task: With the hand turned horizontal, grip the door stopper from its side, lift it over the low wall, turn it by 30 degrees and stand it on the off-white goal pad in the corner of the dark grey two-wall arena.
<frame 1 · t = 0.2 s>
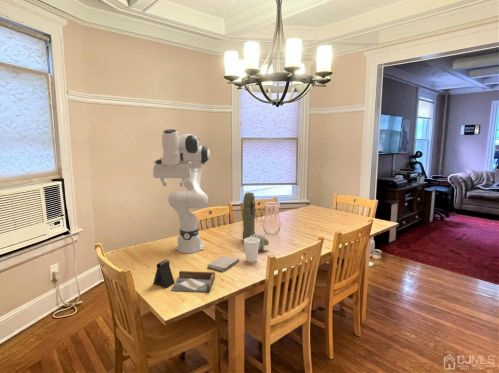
hand: (173, 186, 171), 48 cm above the table, tool pointing down, fingers open, 8 cm apart
foam cup: (251, 260, 193), on the table
door stopper: (163, 284, 162), on the table
arena: (193, 284, 162), on the table
toy sheep: (256, 250, 210), on the table
washcloth: (223, 265, 186), on the table
green cactus: (248, 241, 227), on the table
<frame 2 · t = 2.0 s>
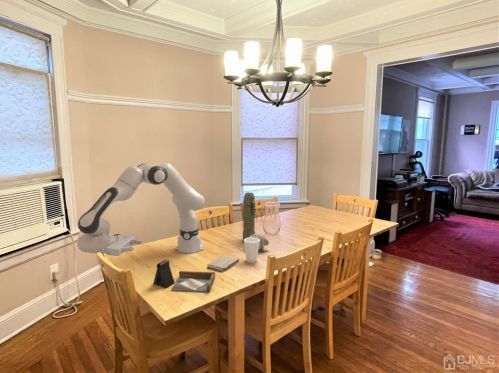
hand: (137, 245, 160), 20 cm above the table, tool horizontal, fingers open, 8 cm apart
nothing on the table moved.
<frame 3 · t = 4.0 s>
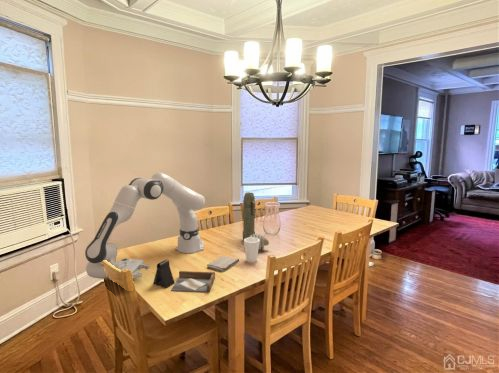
hand: (145, 271, 162), 6 cm above the table, tool horizontal, fingers open, 8 cm apart
nothing on the table moved.
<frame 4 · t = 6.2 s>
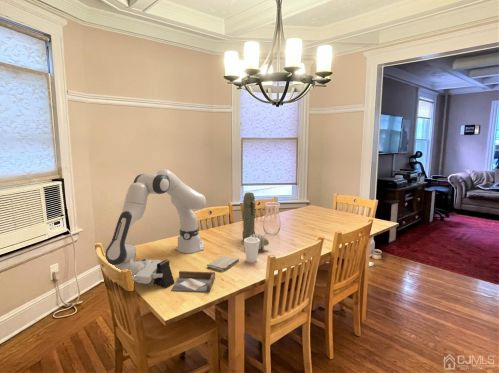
hand: (165, 271, 161), 7 cm above the table, tool horizontal, fingers closed on door stopper, 6 cm apart
door stopper: (163, 284, 162), on the table, touching gripper
everything else where it was.
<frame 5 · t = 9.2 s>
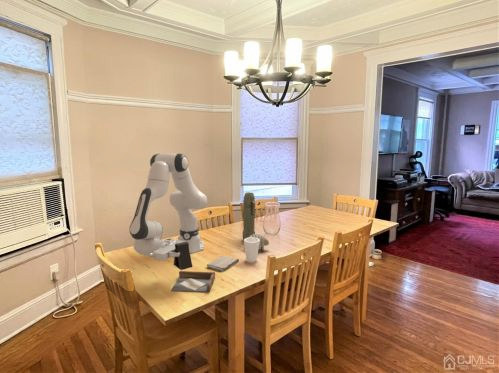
hand: (183, 252, 156), 18 cm above the table, tool horizontal, fingers closed on door stopper, 6 cm apart
door stopper: (182, 266, 157), point 11 cm above the table, touching gripper
everything else where it was.
when the fingers open (9 cm above the table, at t = 12.1 s): door stopper stays where it is, resting on arena.
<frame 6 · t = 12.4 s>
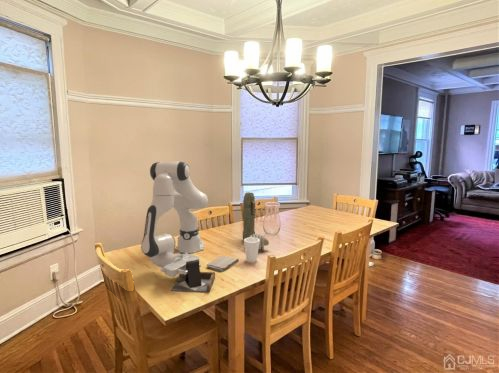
hand: (193, 269, 159), 9 cm above the table, tool horizontal, fingers open, 8 cm apart
door stopper: (193, 283, 161), point 1 cm above the table, touching arena
everything else where it was.
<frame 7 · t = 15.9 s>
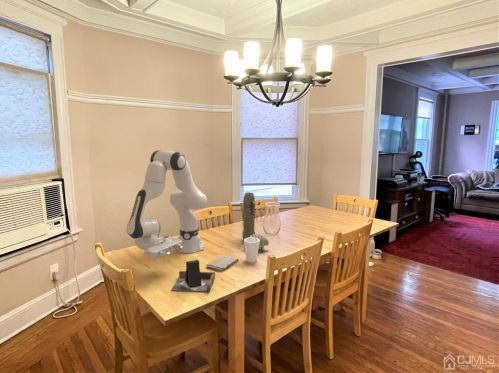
hand: (175, 251, 165), 15 cm above the table, tool horizontal, fingers open, 8 cm apart
nothing on the table moved.
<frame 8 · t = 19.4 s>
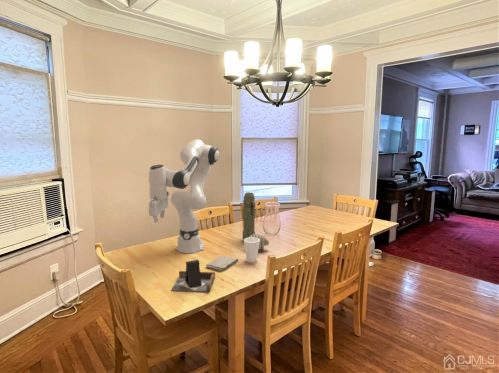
hand: (159, 219, 173), 29 cm above the table, tool pointing down, fingers open, 8 cm apart
nothing on the table moved.
at the end: door stopper inside the target area on the arena (0.5 cm from its centre), point 0.7 cm above the arena's base; door stopper tilted 0°; the gripper is holding nothing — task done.
